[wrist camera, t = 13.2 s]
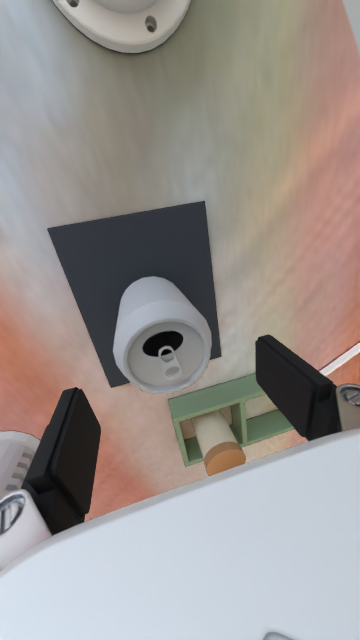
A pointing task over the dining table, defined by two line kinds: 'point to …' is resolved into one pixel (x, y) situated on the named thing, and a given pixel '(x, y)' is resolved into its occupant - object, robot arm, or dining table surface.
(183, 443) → the caddy
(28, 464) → the grey rod with disc
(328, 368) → the photo frame
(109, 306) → the mat
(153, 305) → the can
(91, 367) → the dining table surface
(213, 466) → the spice jar
